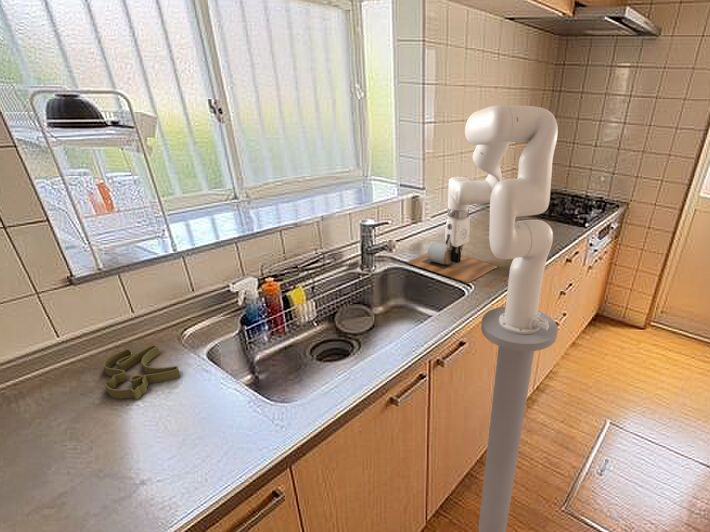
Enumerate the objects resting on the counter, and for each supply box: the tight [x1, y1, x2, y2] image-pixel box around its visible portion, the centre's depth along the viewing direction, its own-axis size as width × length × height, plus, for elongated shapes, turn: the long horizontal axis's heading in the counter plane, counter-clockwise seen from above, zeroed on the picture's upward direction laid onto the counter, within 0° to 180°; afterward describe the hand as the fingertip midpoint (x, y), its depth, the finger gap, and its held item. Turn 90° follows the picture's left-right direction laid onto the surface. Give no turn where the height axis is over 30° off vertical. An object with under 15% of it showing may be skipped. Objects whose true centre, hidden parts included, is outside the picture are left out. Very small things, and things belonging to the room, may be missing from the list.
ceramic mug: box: [426, 240, 451, 265], centre depth 158 cm, size 11×8×8 cm
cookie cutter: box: [102, 344, 181, 400], centre depth 90 cm, size 18×12×2 cm, turn 50°
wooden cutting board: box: [406, 253, 498, 284], centre depth 158 cm, size 28×20×1 cm
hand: (455, 261), depth 156 cm, fingers closed
